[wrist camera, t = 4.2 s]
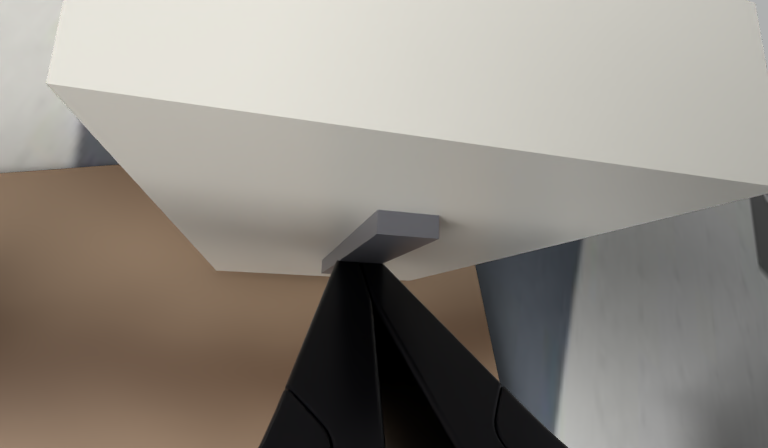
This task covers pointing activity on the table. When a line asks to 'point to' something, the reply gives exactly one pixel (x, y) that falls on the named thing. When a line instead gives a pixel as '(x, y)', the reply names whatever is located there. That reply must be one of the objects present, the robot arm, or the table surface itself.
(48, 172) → the brown wooden board
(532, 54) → the one stripe tile
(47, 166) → the table surface
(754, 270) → the table surface
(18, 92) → the table surface
